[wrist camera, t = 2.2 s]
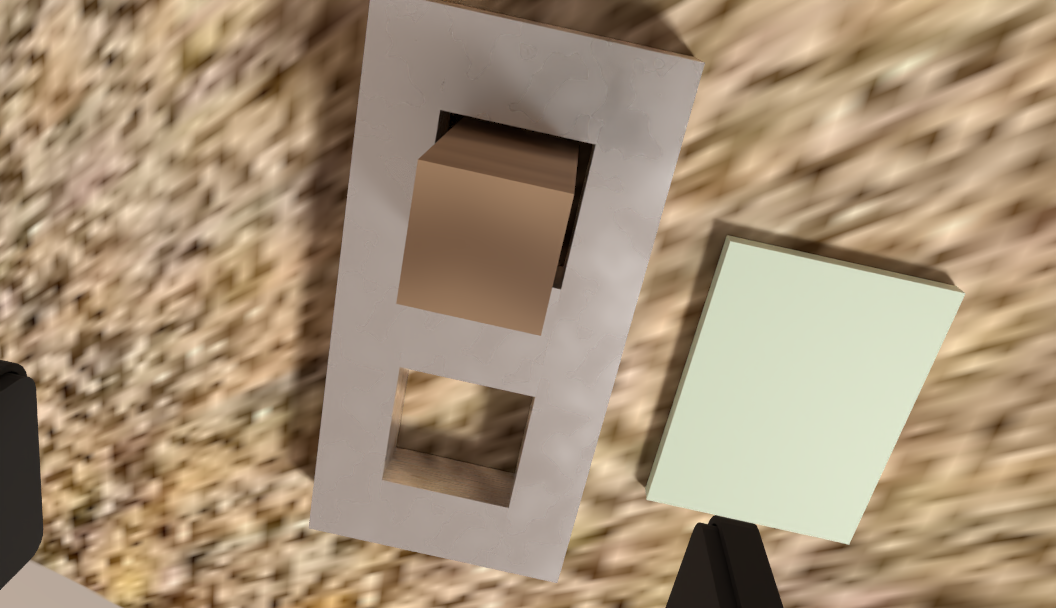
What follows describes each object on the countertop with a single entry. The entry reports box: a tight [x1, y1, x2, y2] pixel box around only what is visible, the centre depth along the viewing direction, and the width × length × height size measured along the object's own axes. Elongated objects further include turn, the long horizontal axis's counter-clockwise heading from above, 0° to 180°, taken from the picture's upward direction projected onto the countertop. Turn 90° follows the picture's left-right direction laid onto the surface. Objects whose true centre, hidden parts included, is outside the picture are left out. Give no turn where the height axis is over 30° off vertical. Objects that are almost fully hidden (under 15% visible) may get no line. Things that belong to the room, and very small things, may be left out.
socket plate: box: [309, 0, 705, 583], centre depth 30 cm, size 22×11×2 cm, turn 168°
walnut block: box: [396, 117, 579, 336], centre depth 25 cm, size 4×4×8 cm
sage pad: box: [645, 235, 965, 544], centre depth 31 cm, size 12×9×1 cm
